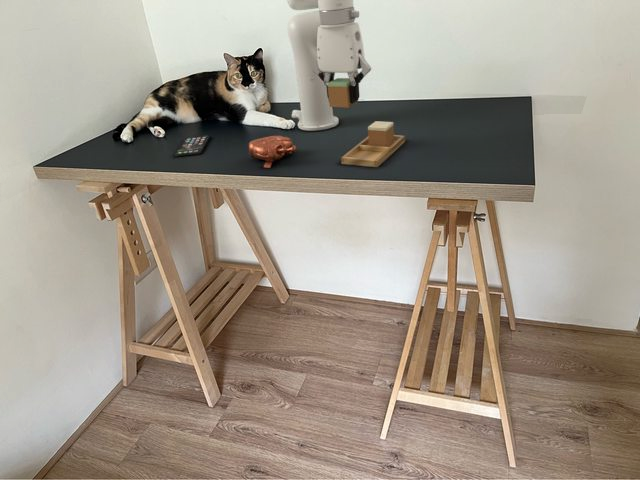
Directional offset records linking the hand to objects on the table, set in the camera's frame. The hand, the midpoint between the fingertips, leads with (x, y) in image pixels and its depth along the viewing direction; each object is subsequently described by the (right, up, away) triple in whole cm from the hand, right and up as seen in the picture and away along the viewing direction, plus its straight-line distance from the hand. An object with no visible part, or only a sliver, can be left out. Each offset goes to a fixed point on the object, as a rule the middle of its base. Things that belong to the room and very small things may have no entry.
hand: (343, 100), depth 116 cm
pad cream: (+11, -8, +12) cm, 18 cm away
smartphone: (-43, -6, +29) cm, 52 cm away
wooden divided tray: (+8, -10, +9) cm, 16 cm away
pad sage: (0, -1, 0) cm, 1 cm away
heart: (-17, -12, +12) cm, 24 cm away
